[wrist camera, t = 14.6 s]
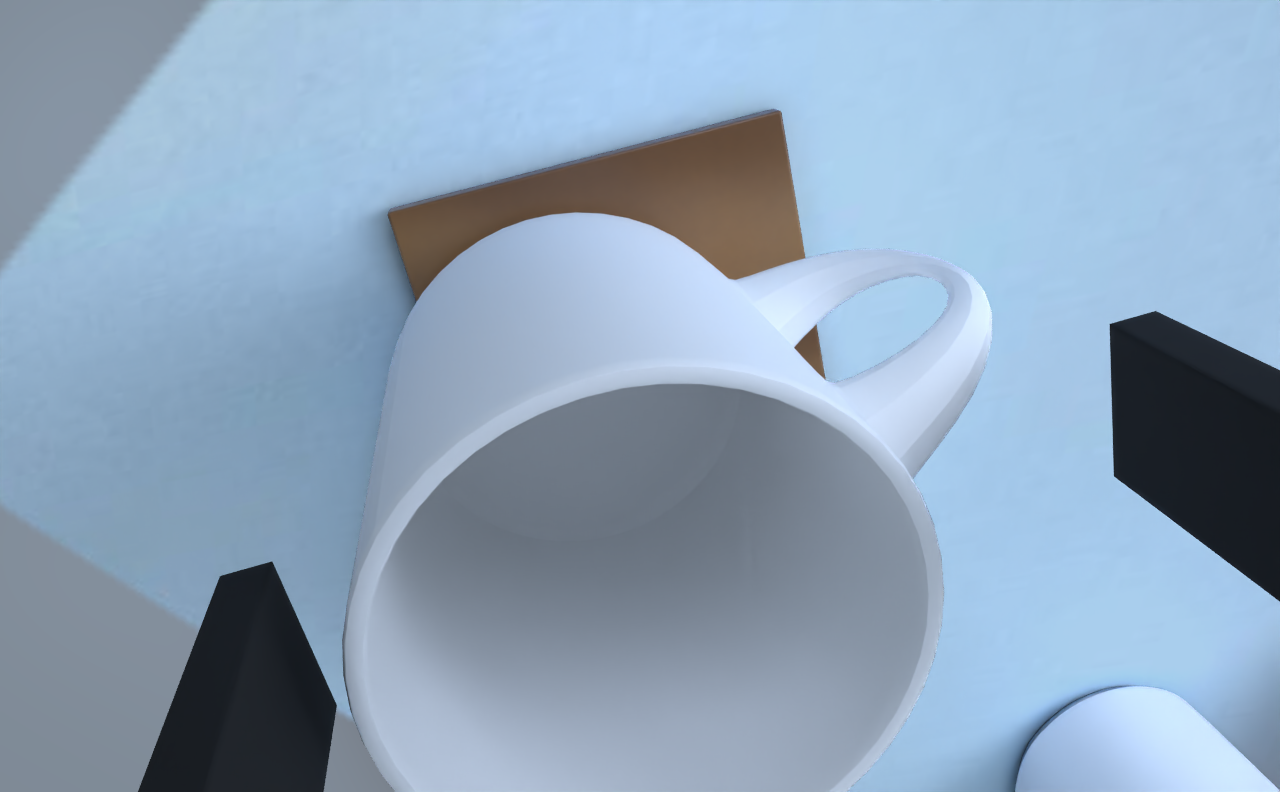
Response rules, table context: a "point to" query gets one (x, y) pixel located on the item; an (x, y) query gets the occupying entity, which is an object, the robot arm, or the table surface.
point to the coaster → (638, 203)
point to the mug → (648, 521)
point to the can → (1134, 748)
